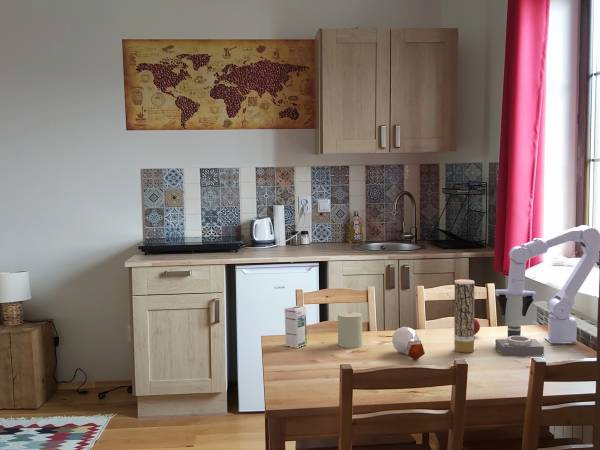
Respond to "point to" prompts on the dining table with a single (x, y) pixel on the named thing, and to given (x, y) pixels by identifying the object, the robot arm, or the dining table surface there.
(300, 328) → the syrup box
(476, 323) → the onion
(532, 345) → the block
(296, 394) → the dining table surface
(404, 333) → the potion bottle
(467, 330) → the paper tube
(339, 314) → the can
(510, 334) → the lens
